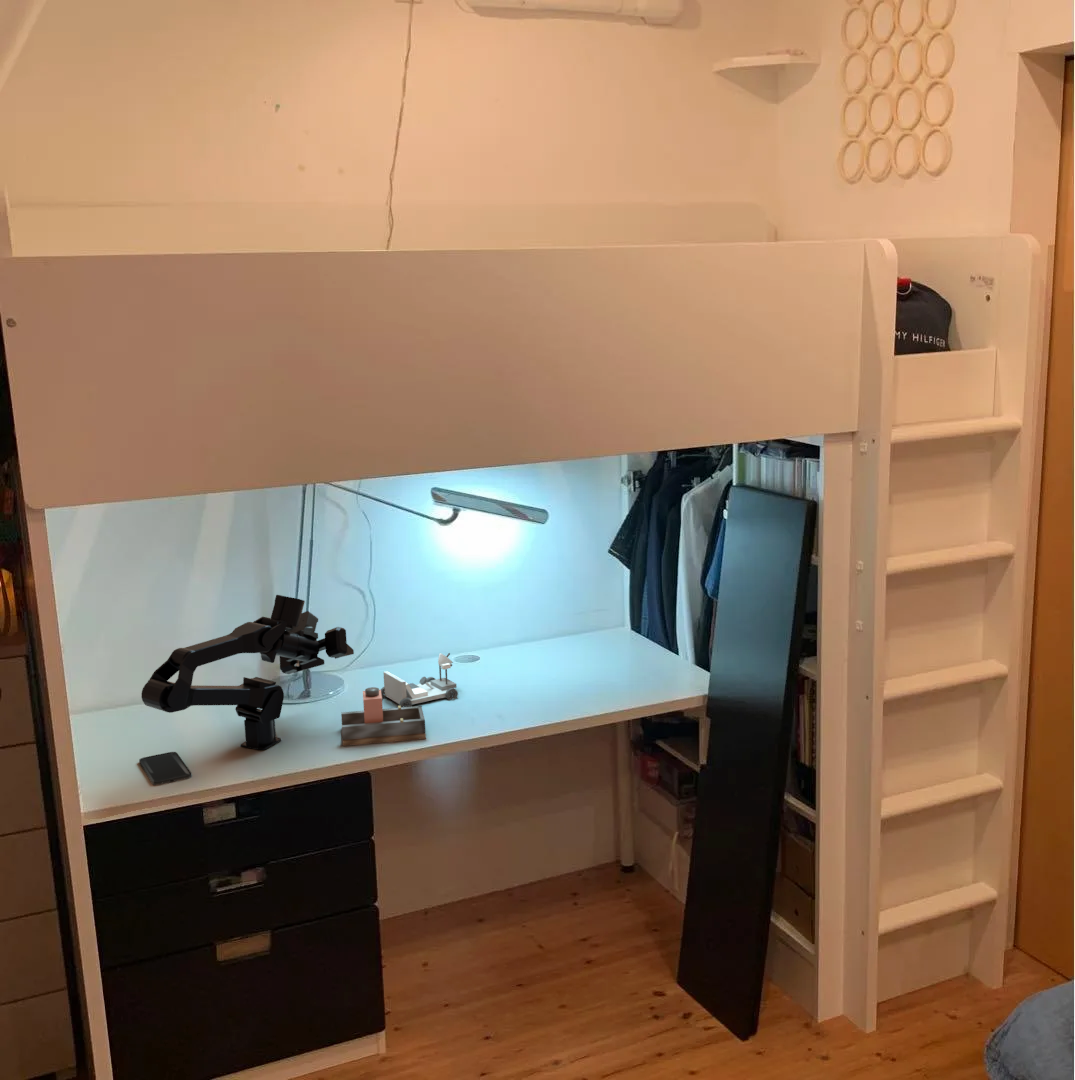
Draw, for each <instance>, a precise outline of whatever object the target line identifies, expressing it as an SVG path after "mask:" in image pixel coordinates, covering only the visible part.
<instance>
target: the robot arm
mask: <svg viewBox="0 0 1075 1080" xmlns="http://www.w3.org/2000/svg"><path fill="white" fill-rule="evenodd" d="M305 603H306V600H303V599H301V598H295V597H290V596H285V595H281V594H276V595H275V597H274V605H273V608H272V612H271V616H270V617H267V616H261V617H259V618H258V619H256V620H254V621H247V622H244V623H243V624H241V625H238V626H237V627H235V628H234V629H233V631H232V632H230V633H228V634H226V635H223V636H220V637H217V638H212V639H210V640H206V641H202V642H199V643H196V644H192V645H190V646H186V647H177V648H176V649H175V650H173V651H172V652H171V654H170V656H169V657H168V658H167V660H166V661H165V662H163V663H162V664H161V665H160V666H159V667H158V668H157V669H155V670H154V672H153V673H152V674H151V677H149V679H148V680H147V682H146V683H145V684H144V686H143V687H142V690H141V700H142V703H143V705H145V706H146V707H148V708H149V707H150V708H153V709H156V710H159V711H162V712H165V713H169V714H170V713H175V712H177V713H178V712H180V711H181V712H182V711H184V710H187V709H189V708H190V707H193V706H235V708H234V709H235V712H236V714H237V716H238V717H242V718H245V719H244V721H243V722H244V724H243V725H244V738H245V741H243V742H241V743H240V744H239V745H240V747H241V748H247V749H255V750H260V751H264V750H265V751H266V750H267V749H269V748H270V747H272V746H274V745H277V744H278V743H279V742H281V741H282V738H281V737H278V736H277V735H276V732H277V731H276V720H277V719H280V717H281V714H282V708H283V704H284V697H285V695H284V693H285V692H284V690H283V687H282V686H281V685H278V684H277V681H273V680H269V679H267V678H266V679H265V678H262V677H258V676H255V677H253V678H250V677H245V676H244V677H242V678H243V679H242V680H243V683H241V684H240V685H193V678H194V673H195V671H196V669H197V668H198V667H202V666H203V665H204V666H205V665H207V664H209V663H213V662H216V661H220V660H223V659H226V658H230V657H232V656H235V655H239V654H258V653H259V654H260V658H261V661H263V662H267V663H275V661H276V657H277V656H279V669H280V671H281V673H282V674H286V675H292V674H295V673H299V672H303V671H306V670H310V669H313V668H316V667H320V666H323V665H325V660H324V659H323V658H321V657H319V656H318V655H319V653H320V652H322V651H324V650H325V654H326V655H327V656H328V658H334V659H335V660H336V659H340V658H343V657H347V656H351V655H354V653H355V652H354V649H353V648H352V647H351V646H350V645H349V644H348V642H347V641H348V640H347V629H345V628H344V627H341V626H336V627H334V628H331V629H328V630H326V632H325V633H324V638H321V639H319V633H318V632H316V629H317V625H318V623H319V618H318V617H317V616H316V615H315V614H313V613H312V612H310V611H309V610H307V611H304V612H303V610H304V606H305ZM318 639H319V640H318ZM177 673H178V674H177ZM175 674H177V679H176V680H175V682H173V681H169V680H170V679H172V677H173V676H174V675H175Z"/></svg>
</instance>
